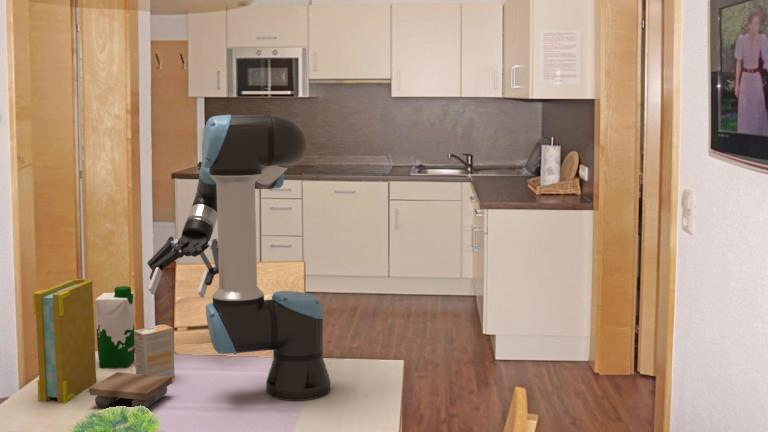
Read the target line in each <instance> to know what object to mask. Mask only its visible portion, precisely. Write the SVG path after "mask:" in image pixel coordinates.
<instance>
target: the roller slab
mask: <svg viewBox="0 0 768 432" xmlns="http://www.w3.org/2000/svg"><path fill="white" fill-rule="evenodd" d="M172 384H173V379H172V377H166V376H155V375H143V374H136V373H131V372H115V373H113V374H112V375H110V376H108V377H107V378H105V379H103V380H101V381H100V382H98V383H95V384H93V385H92V386H90V387H88V391H89V393H88V394H89V396H96V397H95V399H94V402H95V405H96V406H97V407H98V408H99V409H103V408H106V407H108V406H109V405H111V404H112V403H114V402H115V401H117V400H118V399H128V400H129V399H131V400H132V401H131V407H135V406H140V405H141V406H145V407H146V408H148V407H150V406H151V405H152V404H154V403H155V402H157V401H158V400H159V399H160V398H162V397H164V396H165V395H166V394H168V393H167V392H168V386H169V387H170V385H172Z"/></svg>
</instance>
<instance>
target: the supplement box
mask: <svg viewBox="0 0 768 432" xmlns="http://www.w3.org/2000/svg"><path fill="white" fill-rule="evenodd" d="M134 341H135V360H134V361H135V374H143V375H155V376H166V377H172V380H175V377H176V375H175V374H176V373H175V370H176V369H175V348H174V346H175V343H174V327H171V326H170V325H167V324H159V325H158V324H157V325H154V326H149V327H144V328H140V329H135V330H134Z"/></svg>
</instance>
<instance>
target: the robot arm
mask: <svg viewBox="0 0 768 432" xmlns="http://www.w3.org/2000/svg"><path fill="white" fill-rule="evenodd" d="M203 130H204V132H203V137H202V146H201V165H200V168H199V177H198V183H197V186H196V187H197V188H196V193H195V196H194V200H193V201H192V202H193V203H192V205H191V207H190V211H189V212H188V215H187V218H186V221H185V223H184V227H183V229H182V232H181V236H180V237H179V239H176V238H174V237H173V236H169V237H168V238H167V240H166V243H165V244H164V245H163V246H162V247H161V248H160V249H159V250H158V251H157V252H156V253H155V254H154V255H153V256H152V257H151V258H150V259H149V260H148V261H147V266H148V267H149V268H150V270H151V272H150V275H149V280H150V283H149V285H148V287H147V289H148V291H149V292H150V293H151V295H156V292H157V289H158V285H159V283H160V281H161V278H162V275H163V272H162V271H163V270H164V269H165V268H167V267H169V266H170V265H171V264H172V263H174V262H175V261H177V260H178V259H181V258H183V257H184V256H185V257H194V258H197V257H199V256H200V259H202V261H203V263H204V265H205V266H206V268H207V270H206V269H205V270H204V271H203V272H204V273H203V274H202V278H201V280H200V283H199V286H198V289H197V294H198V295H199V297H200V298H201V299H203V298H205V294H206V291H207V289H208V286H211V285H212V284H213V281H214V278H215V276H216V275H218V289H217V290H216V291H214V293H213V294H212V302H209V303H207V304H206V306H205V314H206V315H205V316H206V324H207V328H208V332H209V333H208V334H209V337H210V342H211V345H212V348H213V350H214V351H215V352H216V353H218V354H220V355H224V354H227V355H229V354H233V355H237V354H241V353H252V352H264V351H272V354H273V356H272V357H273V358H272V363H271V364H270V365H271V366H270V369H269V371H268V375H267V377H266V385H265V389H266V390H265V391H266V394H267V395H268V396H271V397H273V398H276V399H278V400H279V399H280V400H287V401H305V400H307V401H308V400H312V399H313V400H314V399H318V398H320V397H321V398H322V397H324V396H326V395H327V394H329V393H330V391H331V390H332V389H331V378H330V374H329V373H328V369H327V365H326V363H325V360H324V326H323V325H324V317H325V316H324V310H323V302H322V300H321V299H320V298H319V297H318V296H317V295H313V294H311V293H307V292H300V291H295V290H280V291H275V292H273V294H272V296H271V299H265V296H264V295H265V293H264V292H263V291H262V290H261V289H260V288H259V287H258V272H257V271H258V269H257V268H258V266H257V260H258V259H257V230H256V229H257V227H256V226H257V224H256V223H257V221H256V220H257V217H256V190H273V189H280V188H282V187H283V185H284V182H285V171H287V169H290V168H294V167H295V166H297V165H299V164H300V163H301V162H302V161H303V160H304V158H305V156H306V155H307V152H308V147H309V145H308V144H309V143H308V138H307V135H306V133H305V131H304V130H303V128H302V127H301V126H300V125H298V123H297V122H295V121H293V120H292V119H290V118H287V117H285V116H282V115H276V114H258V115H257V114H223V115H221V114H220V115H215V116H212V117H209V118H208V120H207V121H206V124H205V127H204V129H203ZM216 223H217V239H216V238H213V239H212V236H213V235H212V234H213V232H214V229H215V226H216ZM211 239H212V240H211ZM208 248H210V250H211V253H212V257H213V261H214V262H213V263H214V267H213V266H212V264H211V262H210V261H209V259H208V257H207V256H206V253H205V250H207V249H208Z"/></svg>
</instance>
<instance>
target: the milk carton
mask: <svg viewBox="0 0 768 432" xmlns="http://www.w3.org/2000/svg"><path fill="white" fill-rule="evenodd" d="M94 303H95V319H96V322H95V323H96V348H97V355H98V357H97V358H98V364H99V368H100V369H105V368H108V369H110V368H111V369H112V368H114V369H115V368H116V369H117V368H118V369H128V367H129V366H130V365H131V364H132V363H133V362H134V361H135V341H134V330H136V329H135V304H134V303H135V293H134V292H132V289H131V287H130V286H126V285H125V286H124V285H123V286H116V287H114V292H104V293H102V294H101V295H99V296H97V298H95V299H94Z"/></svg>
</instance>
